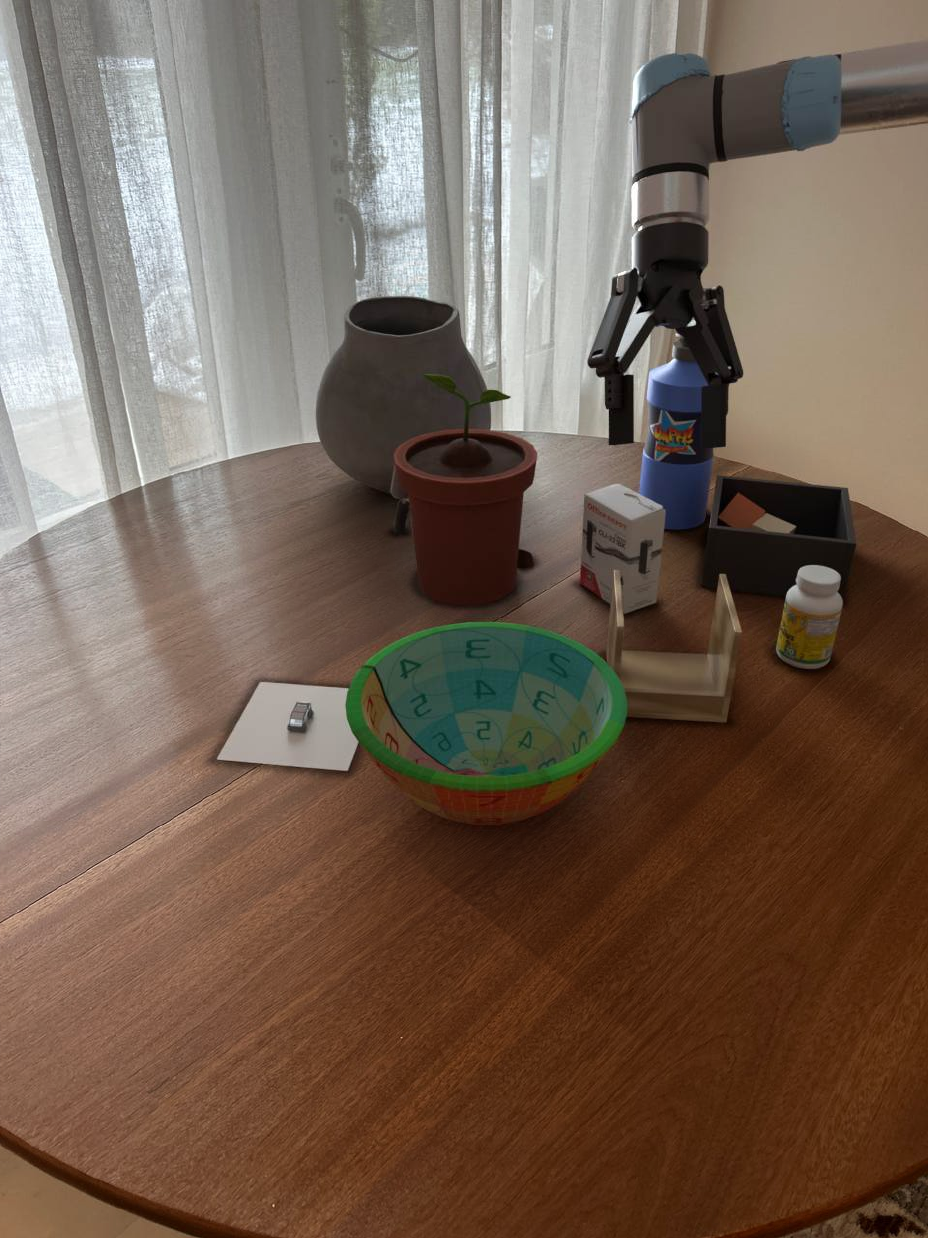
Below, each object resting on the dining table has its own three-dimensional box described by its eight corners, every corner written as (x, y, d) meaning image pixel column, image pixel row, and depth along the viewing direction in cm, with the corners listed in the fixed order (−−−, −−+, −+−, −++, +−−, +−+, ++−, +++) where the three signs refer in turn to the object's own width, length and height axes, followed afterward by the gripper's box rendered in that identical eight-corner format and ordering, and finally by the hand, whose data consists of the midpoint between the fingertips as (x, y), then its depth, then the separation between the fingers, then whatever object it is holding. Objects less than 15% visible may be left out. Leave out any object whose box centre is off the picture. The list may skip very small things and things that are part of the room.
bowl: (657, 756, 82) (668, 663, 77) (545, 933, 66) (550, 830, 61) (443, 684, 92) (440, 596, 87) (299, 822, 76) (286, 725, 70)
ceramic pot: (308, 518, 125) (287, 330, 112) (336, 451, 146) (321, 286, 132) (489, 519, 124) (490, 330, 111) (491, 452, 145) (492, 285, 132)
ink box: (577, 583, 109) (582, 490, 103) (610, 572, 111) (617, 481, 105) (624, 615, 103) (633, 518, 97) (658, 603, 105) (669, 507, 99)
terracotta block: (716, 527, 117) (735, 503, 117) (742, 546, 115) (762, 521, 116) (717, 517, 113) (738, 492, 113) (744, 536, 112) (765, 510, 112)
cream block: (755, 540, 115) (766, 512, 113) (785, 553, 114) (796, 526, 111) (742, 551, 113) (752, 524, 110) (772, 566, 111) (783, 538, 108)
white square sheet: (216, 759, 83) (213, 746, 82) (260, 681, 93) (258, 669, 92) (347, 771, 81) (346, 757, 80) (377, 690, 91) (376, 678, 90)
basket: (835, 543, 117) (848, 487, 113) (842, 604, 104) (856, 543, 100) (709, 529, 121) (716, 474, 117) (700, 586, 108) (709, 527, 104)
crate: (606, 654, 96) (613, 569, 91) (712, 659, 95) (725, 573, 90) (609, 716, 87) (617, 626, 82) (726, 722, 86) (742, 632, 81)
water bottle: (693, 535, 119) (719, 339, 106) (625, 520, 123) (642, 329, 110) (715, 508, 126) (742, 321, 113) (650, 495, 130) (668, 313, 117)
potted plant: (381, 616, 103) (366, 396, 90) (394, 530, 122) (383, 337, 109) (540, 614, 103) (548, 394, 90) (529, 528, 122) (534, 335, 108)
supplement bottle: (836, 670, 93) (857, 587, 88) (783, 671, 93) (800, 588, 88) (819, 641, 98) (838, 561, 93) (768, 641, 98) (784, 561, 93)
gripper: (722, 256, 103) (720, 451, 105) (549, 219, 88) (552, 445, 91) (779, 239, 97) (776, 446, 99) (604, 196, 82) (605, 439, 85)
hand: (669, 446), depth 95 cm, fingers open, 13 cm apart
